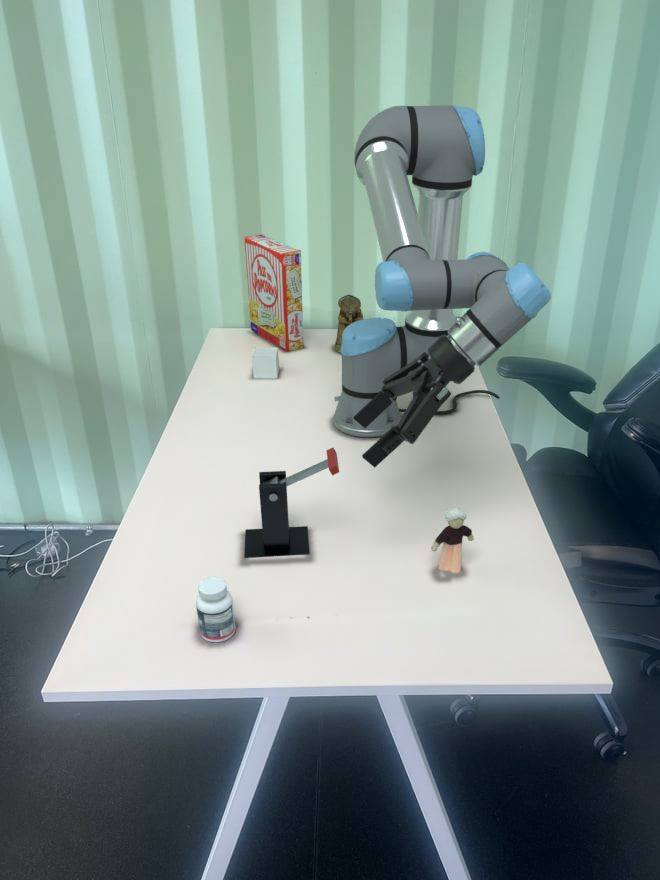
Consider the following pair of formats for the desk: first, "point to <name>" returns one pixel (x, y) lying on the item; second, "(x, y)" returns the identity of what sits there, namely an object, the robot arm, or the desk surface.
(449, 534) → the grandmother figurine
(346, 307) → the bronze figurine
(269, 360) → the pale blue cube
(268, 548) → the bracket
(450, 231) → the robot arm
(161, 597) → the desk surface
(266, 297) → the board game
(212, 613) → the pill bottle
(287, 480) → the lever
